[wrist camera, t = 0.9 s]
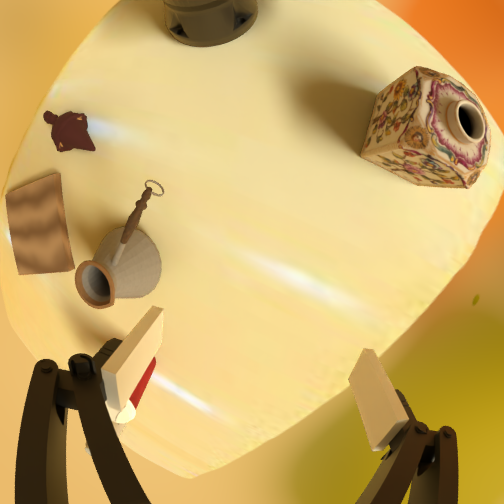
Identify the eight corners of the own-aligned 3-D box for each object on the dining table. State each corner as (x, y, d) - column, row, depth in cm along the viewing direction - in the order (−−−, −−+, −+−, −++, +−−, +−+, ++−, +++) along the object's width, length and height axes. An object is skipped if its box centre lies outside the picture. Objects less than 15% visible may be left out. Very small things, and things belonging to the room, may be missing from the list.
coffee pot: (143, 304, 44) (100, 350, 29) (97, 259, 42) (42, 289, 28) (222, 209, 39) (196, 224, 25) (166, 159, 38) (115, 150, 23)
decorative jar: (434, 125, 34) (506, 107, 16) (419, 187, 37) (495, 195, 19) (374, 92, 33) (432, 47, 16) (356, 156, 36) (418, 140, 19)
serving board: (11, 193, 40) (5, 194, 38) (60, 173, 39) (53, 173, 37) (24, 272, 44) (19, 275, 42) (75, 268, 43) (68, 271, 41)
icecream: (99, 120, 31) (54, 92, 30) (68, 163, 30) (29, 127, 30) (117, 138, 37) (72, 108, 37) (91, 175, 37) (49, 140, 37)
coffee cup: (138, 333, 45) (100, 382, 31) (169, 363, 47) (142, 418, 32) (116, 352, 47) (80, 397, 32) (145, 379, 48) (117, 430, 34)
